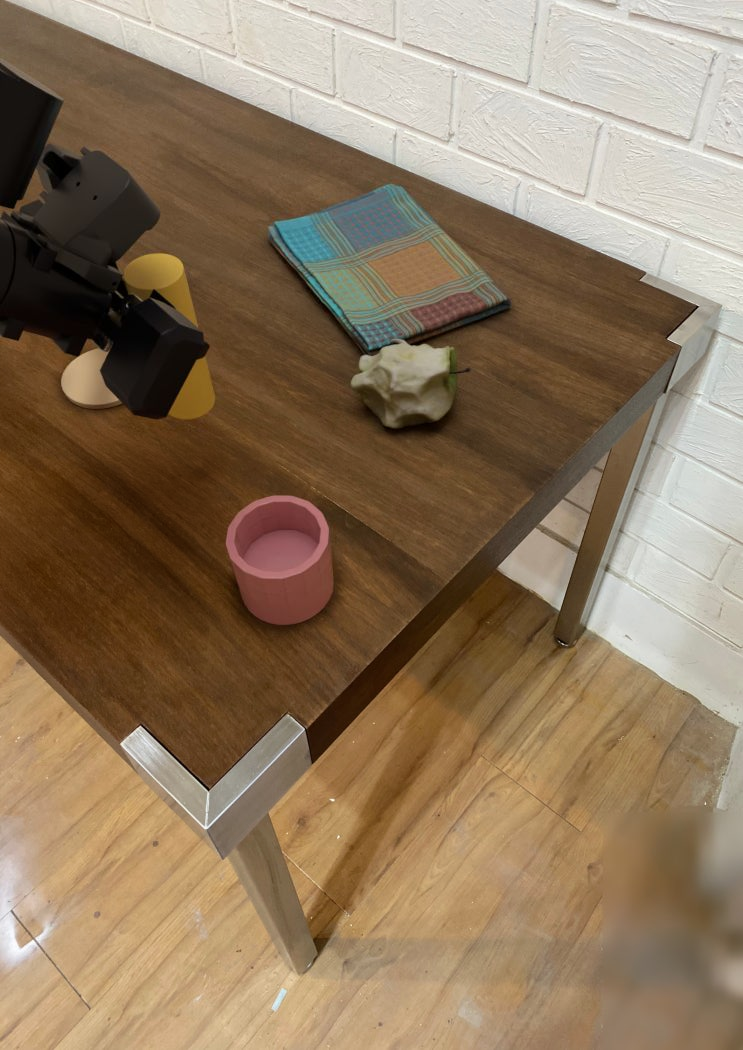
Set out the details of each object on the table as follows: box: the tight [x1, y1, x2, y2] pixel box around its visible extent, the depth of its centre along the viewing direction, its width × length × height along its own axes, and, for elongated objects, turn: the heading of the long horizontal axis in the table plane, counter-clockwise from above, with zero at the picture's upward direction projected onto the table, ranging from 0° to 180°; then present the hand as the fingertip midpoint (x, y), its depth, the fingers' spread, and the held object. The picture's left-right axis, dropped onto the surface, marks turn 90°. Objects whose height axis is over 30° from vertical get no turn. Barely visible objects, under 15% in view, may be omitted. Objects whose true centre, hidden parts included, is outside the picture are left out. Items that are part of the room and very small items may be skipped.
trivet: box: [60, 347, 123, 410], centre depth 74 cm, size 8×8×1 cm
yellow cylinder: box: [122, 252, 216, 421], centre depth 56 cm, size 4×4×12 cm
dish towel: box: [266, 183, 512, 356], centre depth 82 cm, size 17×23×2 cm
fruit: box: [350, 339, 472, 430], centre depth 69 cm, size 9×9×8 cm
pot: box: [225, 495, 335, 626], centre depth 57 cm, size 7×7×6 cm
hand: (189, 336), depth 57 cm, fingers closed on yellow cylinder, 4 cm apart
